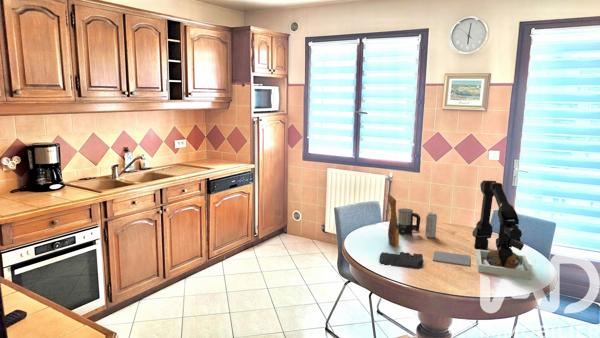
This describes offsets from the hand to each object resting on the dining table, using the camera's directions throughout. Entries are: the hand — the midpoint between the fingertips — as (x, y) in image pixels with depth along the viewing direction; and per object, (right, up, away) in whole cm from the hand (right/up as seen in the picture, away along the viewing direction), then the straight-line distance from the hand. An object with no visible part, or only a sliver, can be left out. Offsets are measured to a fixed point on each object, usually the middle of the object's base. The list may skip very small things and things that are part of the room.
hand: (502, 262), depth 205 cm
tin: (0, -2, 0) cm, 2 cm away
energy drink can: (-22, +5, +45) cm, 50 cm away
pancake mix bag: (-48, +4, +34) cm, 59 cm away
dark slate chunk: (-50, -1, +5) cm, 50 cm away
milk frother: (-33, +7, +55) cm, 65 cm away
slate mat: (-22, 0, +10) cm, 24 cm away
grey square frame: (0, -2, 0) cm, 2 cm away
